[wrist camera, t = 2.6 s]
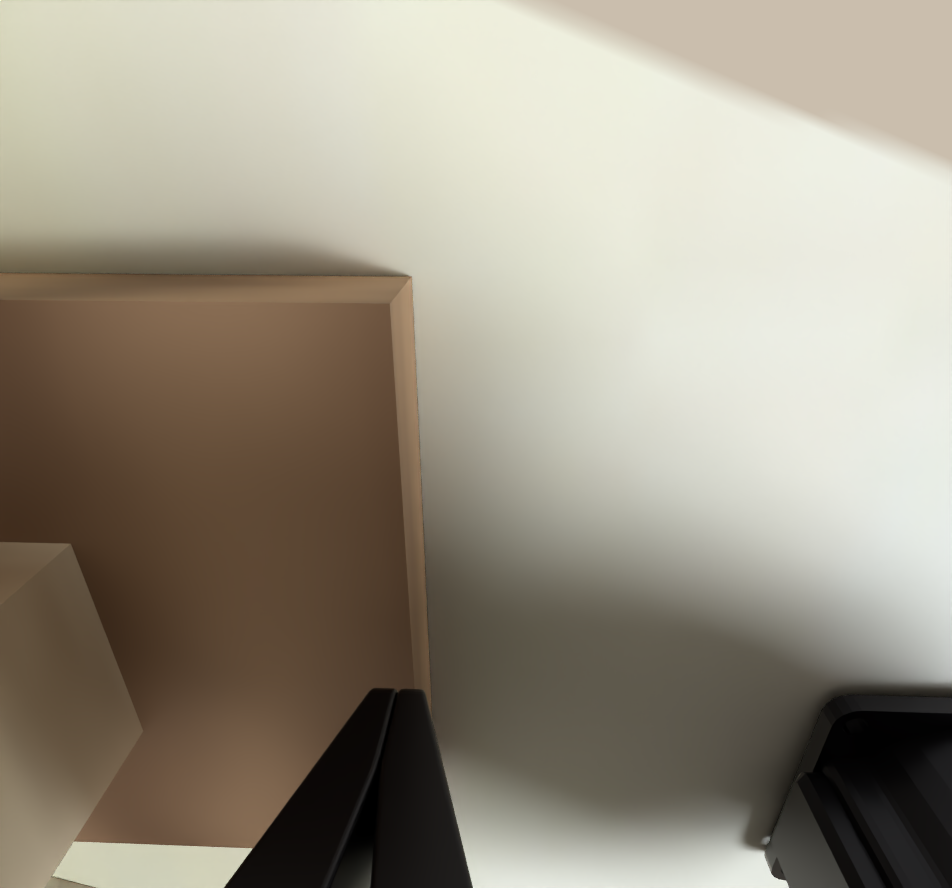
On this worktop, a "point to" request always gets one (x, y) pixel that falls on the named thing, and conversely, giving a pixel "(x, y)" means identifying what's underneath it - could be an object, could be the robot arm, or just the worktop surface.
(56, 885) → the packaged product
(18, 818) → the birch block
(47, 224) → the worktop surface
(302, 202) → the worktop surface
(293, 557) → the trap deck
